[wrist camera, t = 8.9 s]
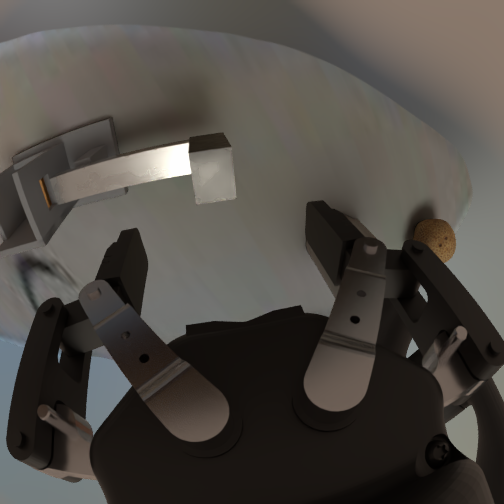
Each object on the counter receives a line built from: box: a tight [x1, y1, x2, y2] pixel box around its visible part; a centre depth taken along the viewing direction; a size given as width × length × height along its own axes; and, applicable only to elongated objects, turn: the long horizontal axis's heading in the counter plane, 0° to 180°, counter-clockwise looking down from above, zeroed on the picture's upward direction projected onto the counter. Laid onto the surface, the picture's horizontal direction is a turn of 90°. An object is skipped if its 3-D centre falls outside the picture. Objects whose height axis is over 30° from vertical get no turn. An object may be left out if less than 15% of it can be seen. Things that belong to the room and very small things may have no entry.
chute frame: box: [0, 118, 128, 258], centre depth 23 cm, size 16×10×12 cm, turn 93°
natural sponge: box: [413, 219, 456, 263], centre depth 43 cm, size 9×9×10 cm
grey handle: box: [50, 133, 236, 205], centre depth 21 cm, size 18×4×8 cm, turn 93°
